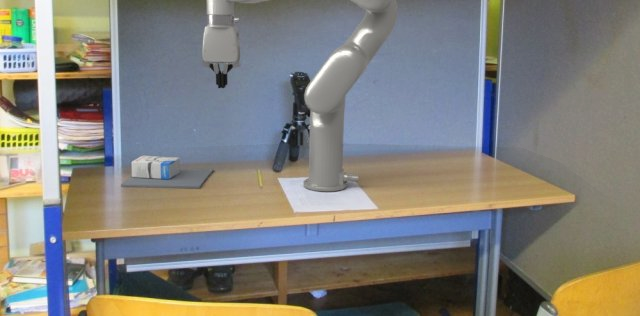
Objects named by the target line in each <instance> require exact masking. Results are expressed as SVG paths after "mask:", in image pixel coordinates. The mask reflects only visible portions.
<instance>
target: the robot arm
mask: <svg viewBox="0 0 640 316" xmlns="http://www.w3.org/2000/svg"><path fill="white" fill-rule="evenodd" d="M268 1H271V0H206V26H204V29H203V35H202V37H203V38H202V48H201V49H202V50H201V51H202V53H201V54H202V63H201V65H202V67H205V68H210V69H211V70H212V72H214V74H215V84H216V86H217V88H218V89H225V88H226V87H227V86H228V73H230V71H231V70H232V69H236V68H240V67H241V61H240V59H241V45H240V44H241V43H240V42H241V41H240V35H239V34H240V33H239V29H238V26H235V25H236V24H237V23H240V17H236V15H235V3H238V4H239V3H240V4H259V3H263V2H268ZM349 1H350V2H352V3H354V4H355V5H356V6H358V7H359V8H361V9H362V10H364V11H365V13H364V16H363V18H362V20H361V21H360V22H359V23H358V25H357V26H356V27H355V29H354V30H353V32H352V33H351V34H350V35H349V37H348V38H347V39H346V41H345V42H344V43H343V44H341V45H340V46H338V47H336V48H335V49H334V50H333V51H332V52H331V53H330V55H329V56H328V57H327V59H326V60H325V61H324V63H323V64H322V65H321V67H320V68H319V69H318V71H317V72H316V73H315V75H314V76H313V77H312V78H311V80H310V81H309V82H308V84H307V86H306V87H305V90H304V94H303V95H304V96H303V97H304V98H303V99H304V103H305V105H306V107H307V108H308V110H309V111H310V115H309V136H308V137H309V146H308V147H309V149H308V150H309V151H308V160H309V161H308V178H306V179H304V181H303V187H304V188H305V189H308V190H309V191H310V190H311V191H315V192H338V191H342V190H345V189H347V188H348V186H349V185H348V182H359V174H355V173H350V172H349V173H348V172H347V173H346V172H345V171H344V170H345V169H344V168H343V166H344V165H343V161H344V158H343V157H344V133H345V132H344V128H345V127H344V126H345V124H344V123H345V109H346V96H347V94H348V93H349V91H350V90H351V88H353V87H354V85H355V83H357V81H358V80H359V79H360V78H361V76H362V75H363V74H364V73H365V71H366V70H367V68H368V66H369V65H370V63H371V62H372V60H373V59H374V57H375V56H376V55H377V53H379V51H380V50H381V48H382V46H384V44H385V42H386V41H387V40H388V38H389V37H390V35H391V34H392V32H393V31H394V28H395V26H396V23H397V20H398V19H397V18H398V3H397V0H349ZM220 64H223V67H222V71H221V66H220Z"/></svg>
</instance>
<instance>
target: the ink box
mask: <svg viewBox="0 0 640 316" xmlns="http://www.w3.org/2000/svg"><path fill="white" fill-rule="evenodd" d="M180 165H181V164H180V157H174V156H173V157H172V156H155V155H141V156H139V157H138V158H136V159H134V160H132V161H131V176H132V177H137V178H154V179H171V178H172V177H174V176H175V175H177V174H178V173H180V168H181V166H180Z"/></svg>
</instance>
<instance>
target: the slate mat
mask: <svg viewBox="0 0 640 316" xmlns="http://www.w3.org/2000/svg"><path fill="white" fill-rule="evenodd" d="M213 172H214V168H191V167H190V168H188V167H186V168H185V167H180V173H178V174H177V175H175V176H174V177H172V178H171V179H154V178H137V177H132V175H131V176H130V177H129V178H128V179H126V180H125V181H124V182H123V183H121V184H120V187H125V188H155V189H156V188H157V189H159V188H163V189H198V190H199V189H200V188H201V187H202V186H203V184H204V183H205V182H206V181H207V180H208V179H209V177H210V176H211V174H212V173H213Z"/></svg>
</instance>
